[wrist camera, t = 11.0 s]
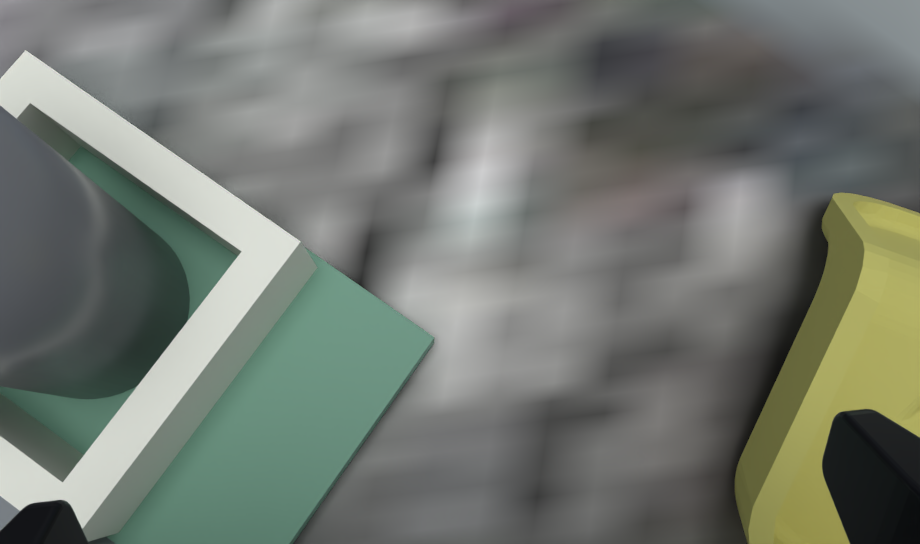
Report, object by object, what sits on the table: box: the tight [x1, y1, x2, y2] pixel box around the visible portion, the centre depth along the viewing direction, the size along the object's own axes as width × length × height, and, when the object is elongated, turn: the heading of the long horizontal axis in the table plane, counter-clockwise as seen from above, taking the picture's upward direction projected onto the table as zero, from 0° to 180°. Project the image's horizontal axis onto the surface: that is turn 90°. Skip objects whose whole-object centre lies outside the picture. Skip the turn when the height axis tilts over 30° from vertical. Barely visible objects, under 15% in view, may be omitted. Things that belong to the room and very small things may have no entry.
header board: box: [0, 50, 434, 544], centre depth 21 cm, size 16×14×4 cm
